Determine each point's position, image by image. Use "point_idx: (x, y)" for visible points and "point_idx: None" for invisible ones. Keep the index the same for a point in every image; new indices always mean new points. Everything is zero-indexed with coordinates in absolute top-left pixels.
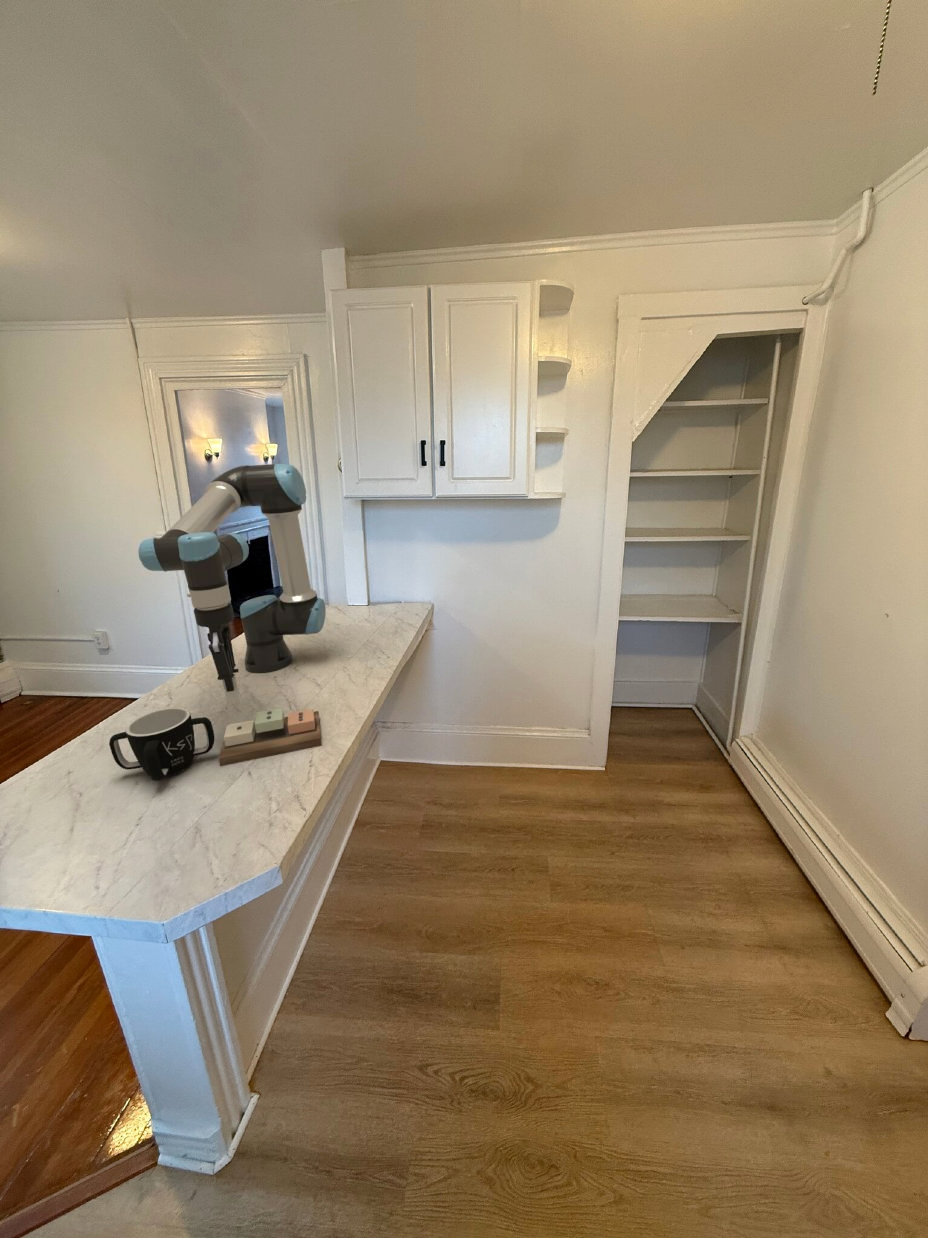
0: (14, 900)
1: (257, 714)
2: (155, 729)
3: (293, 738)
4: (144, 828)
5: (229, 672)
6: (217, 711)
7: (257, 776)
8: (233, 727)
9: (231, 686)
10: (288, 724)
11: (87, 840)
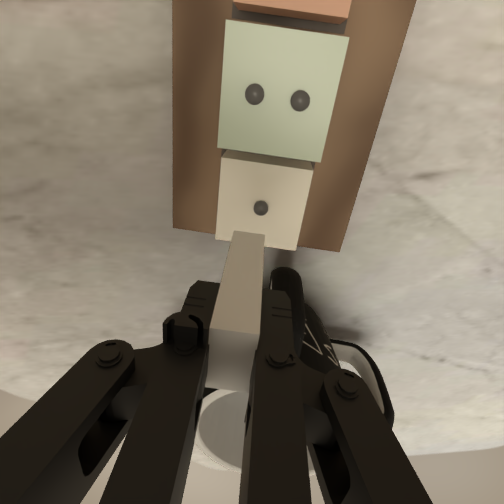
0: (492, 446)
1: (238, 146)
2: (216, 399)
3: (372, 9)
4: (463, 352)
5: (396, 438)
6: (29, 241)
7: (458, 157)
8: (242, 223)
9: (289, 318)
10: (339, 12)
11: (425, 405)
